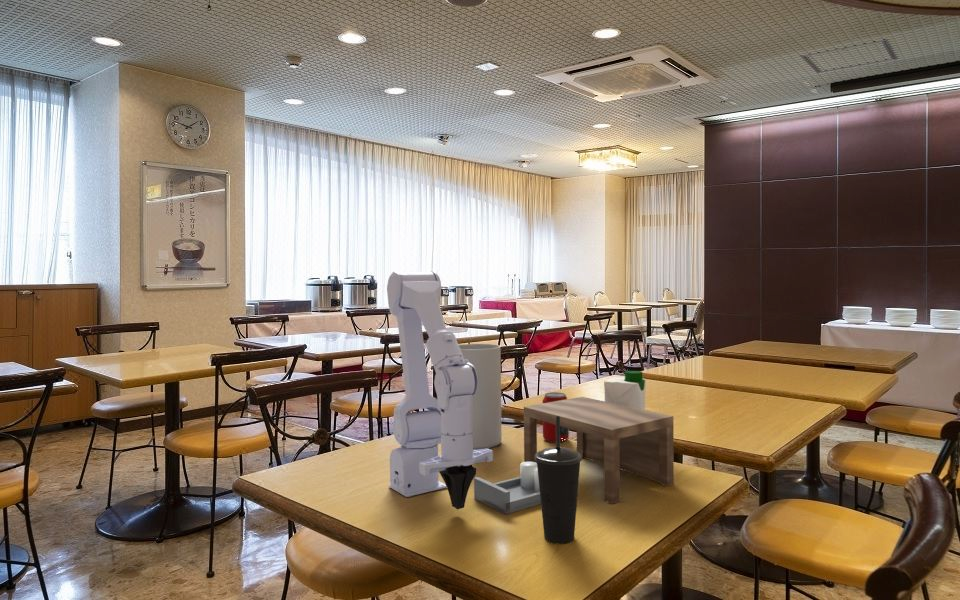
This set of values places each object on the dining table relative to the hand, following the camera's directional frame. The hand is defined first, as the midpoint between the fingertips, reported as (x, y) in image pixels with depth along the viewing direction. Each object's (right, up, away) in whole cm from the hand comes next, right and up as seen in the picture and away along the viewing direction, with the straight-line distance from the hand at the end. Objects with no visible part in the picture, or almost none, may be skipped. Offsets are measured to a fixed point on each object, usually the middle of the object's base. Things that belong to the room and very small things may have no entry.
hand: (458, 506), depth 111 cm
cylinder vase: (+3, 0, +48) cm, 48 cm away
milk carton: (+38, 0, +36) cm, 52 cm away
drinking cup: (+17, -2, -10) cm, 20 cm away
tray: (+12, -1, +9) cm, 15 cm away
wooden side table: (+29, 0, +20) cm, 35 cm away
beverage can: (+24, 0, +50) cm, 55 cm away
